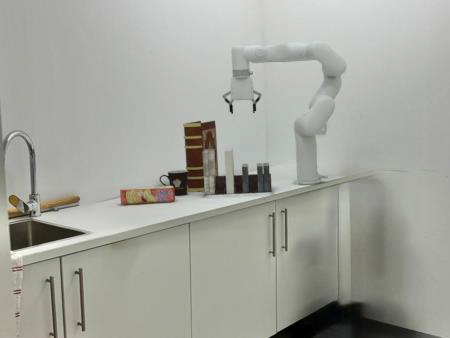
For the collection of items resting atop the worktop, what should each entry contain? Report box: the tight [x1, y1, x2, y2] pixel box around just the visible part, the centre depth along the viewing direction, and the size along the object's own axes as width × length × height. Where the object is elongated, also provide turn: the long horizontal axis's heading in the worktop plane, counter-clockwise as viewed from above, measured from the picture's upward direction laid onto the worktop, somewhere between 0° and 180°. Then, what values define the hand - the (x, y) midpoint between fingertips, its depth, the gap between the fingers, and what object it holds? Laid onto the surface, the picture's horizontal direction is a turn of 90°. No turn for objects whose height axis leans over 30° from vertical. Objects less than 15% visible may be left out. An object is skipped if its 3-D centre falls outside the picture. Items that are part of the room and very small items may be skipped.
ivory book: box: [224, 147, 235, 195], centre depth 262 cm, size 3×11×18 cm, turn 4°
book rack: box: [203, 149, 273, 197], centre depth 263 cm, size 28×14×19 cm, turn 94°
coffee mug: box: [159, 169, 188, 197], centre depth 267 cm, size 12×9×10 cm
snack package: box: [119, 185, 176, 206], centre depth 249 cm, size 21×7×7 cm, turn 99°
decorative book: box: [182, 120, 219, 193], centre depth 282 cm, size 22×8×30 cm, turn 168°
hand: (243, 113), depth 275 cm, fingers open, 9 cm apart
